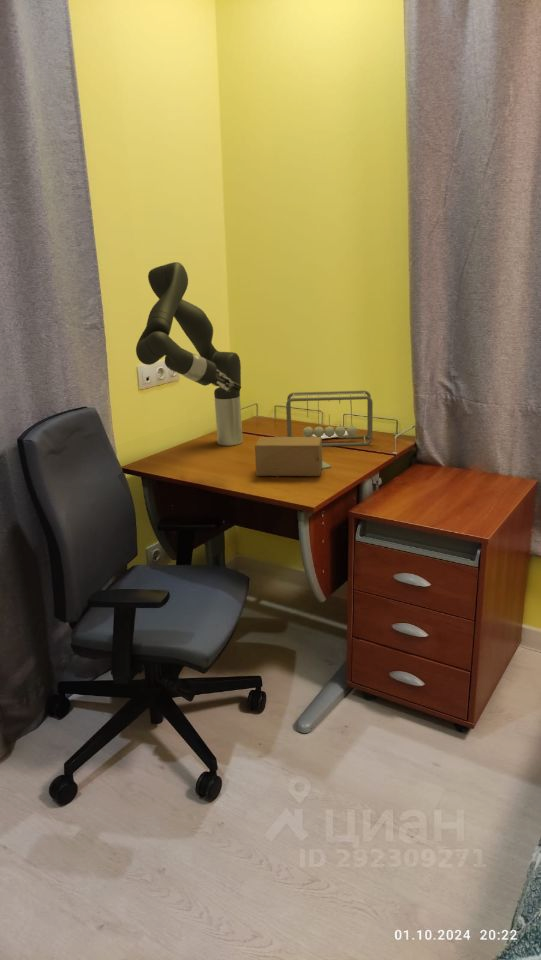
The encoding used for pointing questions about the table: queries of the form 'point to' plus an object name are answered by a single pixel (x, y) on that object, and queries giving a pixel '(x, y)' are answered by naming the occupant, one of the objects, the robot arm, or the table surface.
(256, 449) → the wooden block
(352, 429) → the newton's cradle
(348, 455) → the table surface
